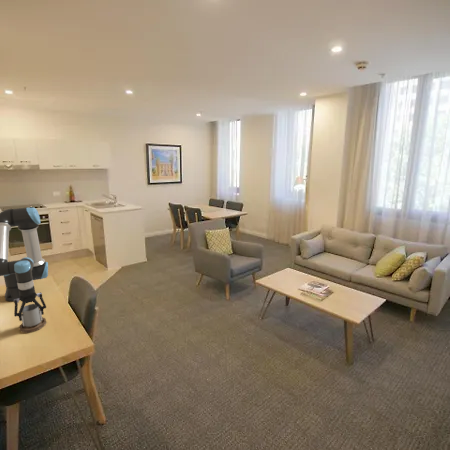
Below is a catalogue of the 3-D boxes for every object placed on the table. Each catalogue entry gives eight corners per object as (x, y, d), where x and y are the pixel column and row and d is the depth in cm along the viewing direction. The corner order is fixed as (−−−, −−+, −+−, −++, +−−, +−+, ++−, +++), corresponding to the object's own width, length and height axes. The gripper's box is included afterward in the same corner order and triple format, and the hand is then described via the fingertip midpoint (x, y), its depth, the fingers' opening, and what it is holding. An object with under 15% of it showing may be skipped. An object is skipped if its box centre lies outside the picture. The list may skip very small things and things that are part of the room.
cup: (32, 327, 167) (30, 312, 164) (20, 325, 168) (17, 310, 166) (44, 319, 175) (41, 304, 172) (32, 317, 176) (30, 303, 174)
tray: (19, 324, 173) (19, 322, 173) (44, 317, 181) (44, 314, 180) (21, 335, 163) (20, 332, 163) (47, 327, 171) (47, 324, 170)
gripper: (3, 295, 156) (11, 331, 162) (48, 284, 169) (54, 318, 175) (3, 290, 162) (10, 325, 168) (46, 280, 175) (52, 313, 180)
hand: (32, 322), depth 171 cm, fingers closed on cup, 8 cm apart
